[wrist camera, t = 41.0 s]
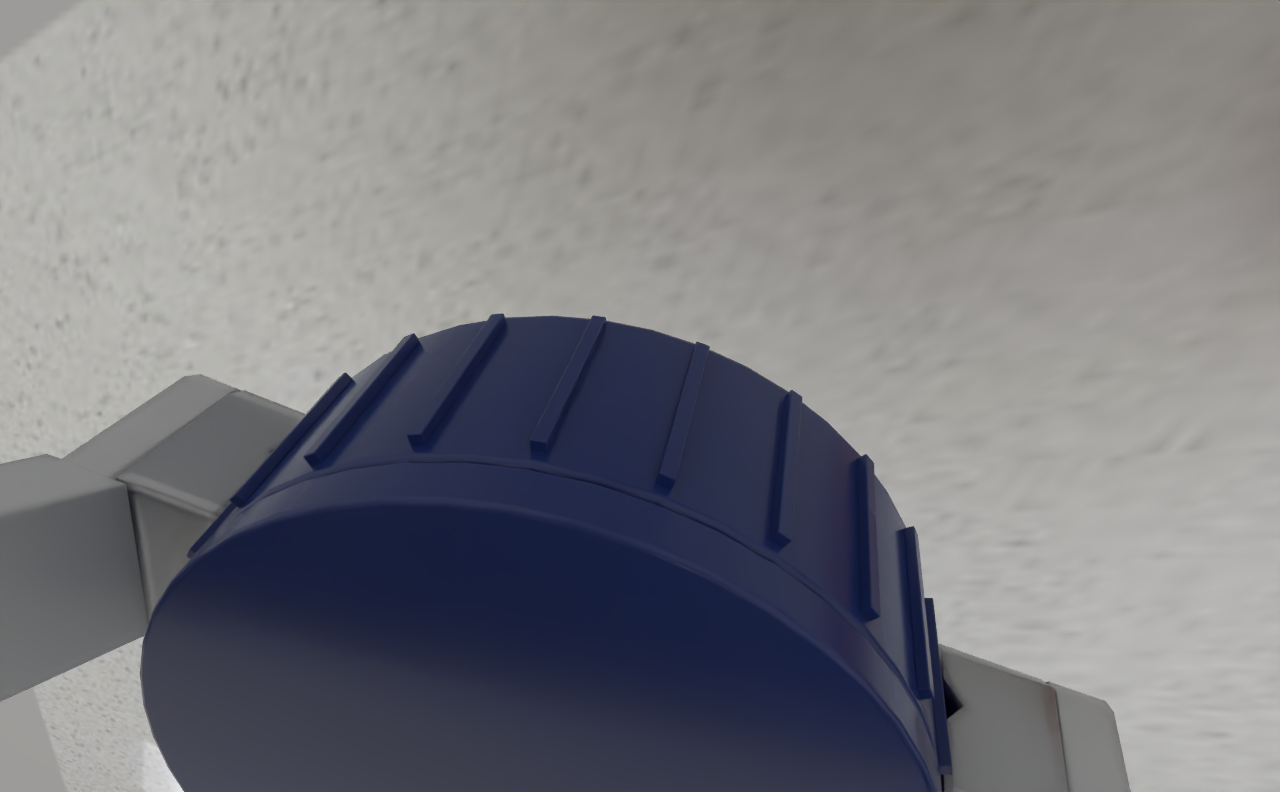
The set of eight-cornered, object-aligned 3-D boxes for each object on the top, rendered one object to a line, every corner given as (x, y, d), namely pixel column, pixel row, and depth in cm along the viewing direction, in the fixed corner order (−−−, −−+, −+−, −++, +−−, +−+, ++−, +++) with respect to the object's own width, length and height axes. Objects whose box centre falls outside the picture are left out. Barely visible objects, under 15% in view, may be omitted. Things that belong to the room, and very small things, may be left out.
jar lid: (978, 783, 9) (1013, 1046, 7) (452, 801, 11) (369, 1009, 9) (845, 220, 6) (846, 404, 4) (169, 386, 8) (-40, 561, 6)
